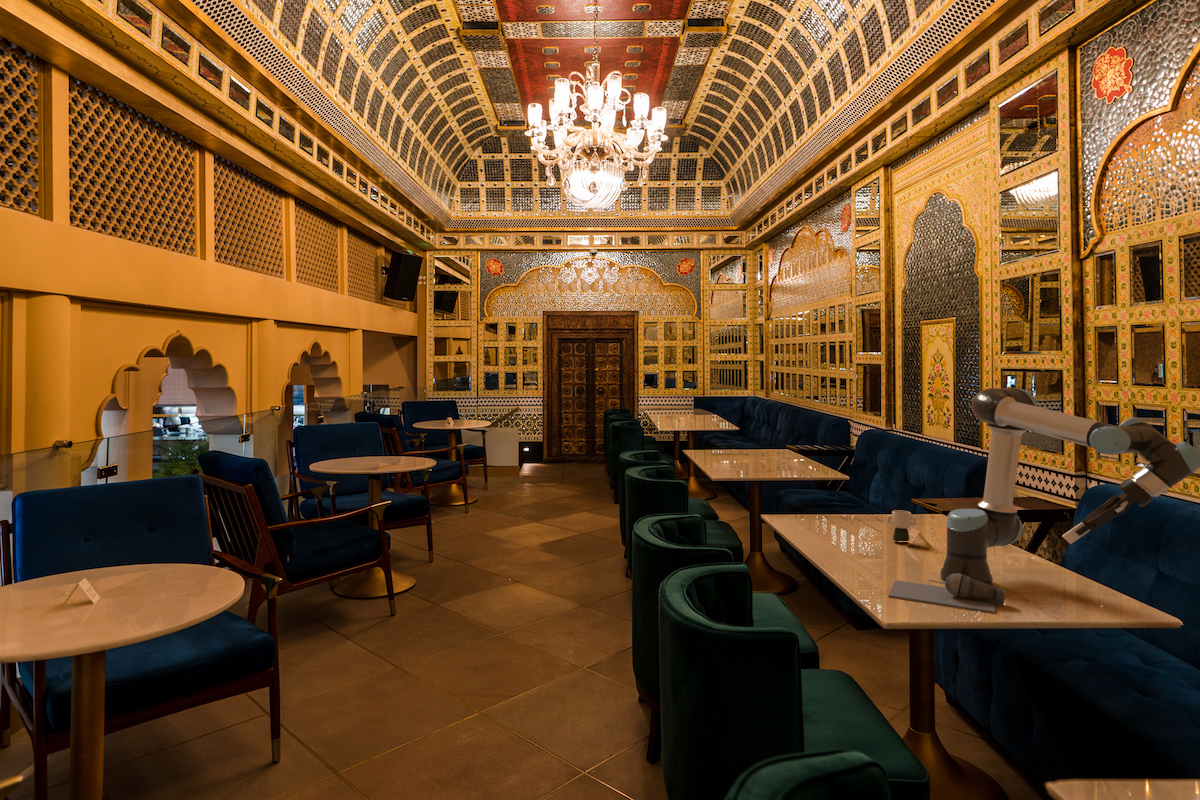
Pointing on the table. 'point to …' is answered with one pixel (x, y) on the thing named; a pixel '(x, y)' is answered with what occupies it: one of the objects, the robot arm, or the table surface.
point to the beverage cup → (973, 589)
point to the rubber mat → (936, 596)
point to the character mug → (901, 524)
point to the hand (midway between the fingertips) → (1066, 539)
